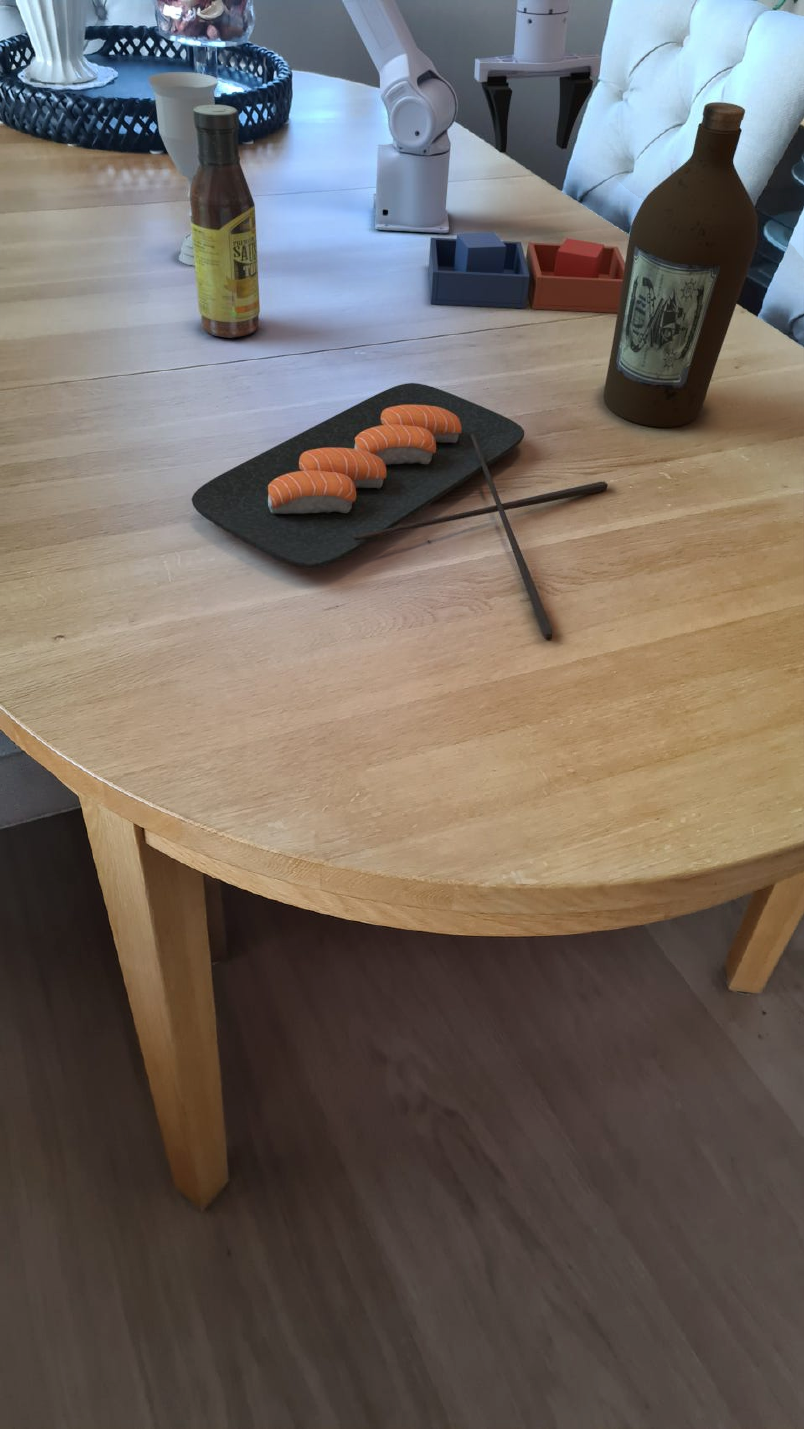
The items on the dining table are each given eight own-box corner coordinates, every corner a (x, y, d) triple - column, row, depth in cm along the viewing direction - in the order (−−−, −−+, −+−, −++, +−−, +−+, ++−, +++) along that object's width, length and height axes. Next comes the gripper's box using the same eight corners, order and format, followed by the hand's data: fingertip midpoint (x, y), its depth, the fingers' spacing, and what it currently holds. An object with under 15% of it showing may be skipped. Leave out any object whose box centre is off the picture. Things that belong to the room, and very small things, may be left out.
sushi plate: (409, 395, 92) (411, 356, 89) (691, 516, 79) (703, 475, 77) (177, 518, 75) (171, 475, 73) (486, 696, 63) (492, 652, 60)
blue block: (453, 274, 113) (456, 233, 110) (489, 272, 114) (494, 232, 111) (464, 289, 110) (468, 247, 107) (501, 287, 111) (506, 246, 108)
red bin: (532, 309, 108) (537, 277, 106) (523, 273, 116) (528, 242, 113) (626, 313, 108) (633, 282, 106) (612, 277, 116) (618, 246, 114)
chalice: (237, 250, 116) (224, 75, 104) (224, 271, 111) (209, 90, 99) (177, 245, 117) (157, 70, 104) (162, 265, 112) (139, 85, 99)
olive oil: (618, 369, 98) (681, 83, 80) (720, 398, 95) (808, 105, 77) (579, 411, 91) (638, 108, 74) (687, 443, 88) (775, 134, 70)
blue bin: (430, 304, 108) (432, 272, 105) (428, 268, 115) (430, 237, 113) (525, 308, 108) (529, 276, 106) (517, 272, 116) (521, 242, 113)
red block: (551, 291, 111) (557, 250, 107) (559, 278, 114) (566, 237, 111) (589, 298, 110) (597, 257, 107) (597, 284, 113) (604, 244, 110)
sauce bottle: (250, 344, 98) (235, 122, 84) (191, 336, 99) (167, 115, 85) (269, 319, 103) (258, 104, 89) (213, 311, 103) (194, 97, 89)
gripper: (592, 2, 111) (577, 136, 120) (470, 7, 109) (464, 143, 118) (614, 13, 106) (596, 152, 115) (486, 17, 104) (479, 158, 113)
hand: (531, 148), depth 116 cm, fingers open, 7 cm apart
